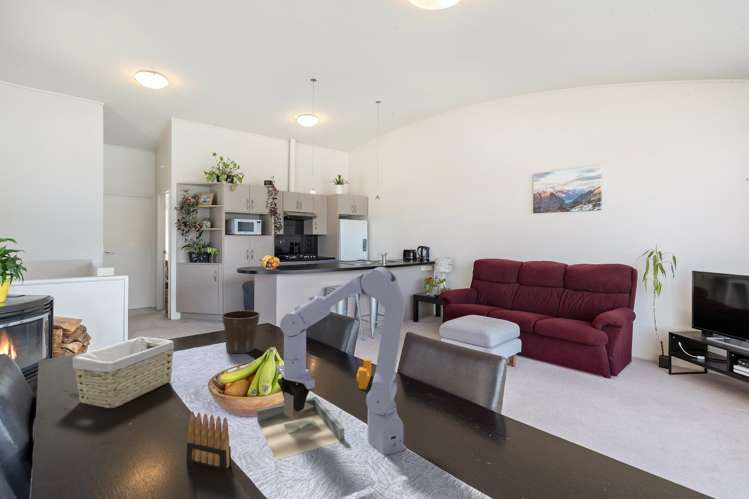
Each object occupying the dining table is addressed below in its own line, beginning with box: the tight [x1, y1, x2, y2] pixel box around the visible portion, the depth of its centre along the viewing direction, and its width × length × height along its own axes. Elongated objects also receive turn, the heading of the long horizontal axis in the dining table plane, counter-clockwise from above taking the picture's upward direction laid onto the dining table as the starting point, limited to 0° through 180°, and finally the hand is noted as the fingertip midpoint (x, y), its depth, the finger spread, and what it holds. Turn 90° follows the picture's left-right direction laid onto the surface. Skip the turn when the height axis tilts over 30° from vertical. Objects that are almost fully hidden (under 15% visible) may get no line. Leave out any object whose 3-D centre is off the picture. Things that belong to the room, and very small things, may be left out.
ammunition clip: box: [186, 410, 232, 471], centre depth 82 cm, size 11×2×12 cm, turn 73°
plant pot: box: [221, 310, 261, 354], centre depth 165 cm, size 16×16×16 cm
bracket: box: [283, 390, 314, 419], centre depth 99 cm, size 7×4×6 cm, turn 139°
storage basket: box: [72, 336, 175, 409], centre depth 120 cm, size 24×16×15 cm
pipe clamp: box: [356, 358, 372, 390], centre depth 131 cm, size 12×4×6 cm, turn 172°
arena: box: [256, 396, 345, 461], centre depth 97 cm, size 20×17×4 cm
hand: (294, 407), depth 98 cm, fingers closed on bracket, 4 cm apart
